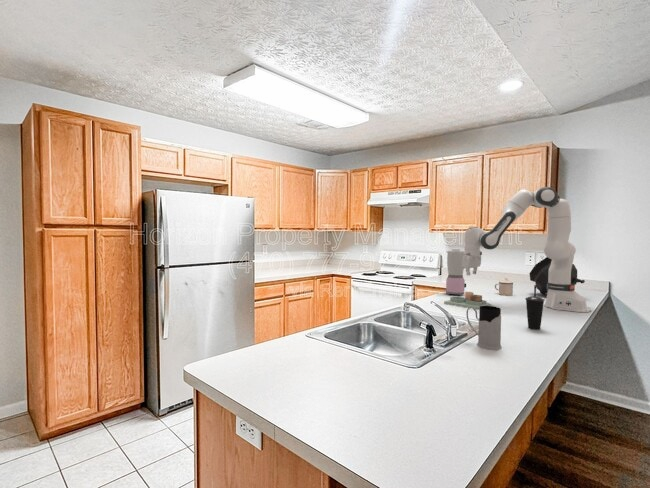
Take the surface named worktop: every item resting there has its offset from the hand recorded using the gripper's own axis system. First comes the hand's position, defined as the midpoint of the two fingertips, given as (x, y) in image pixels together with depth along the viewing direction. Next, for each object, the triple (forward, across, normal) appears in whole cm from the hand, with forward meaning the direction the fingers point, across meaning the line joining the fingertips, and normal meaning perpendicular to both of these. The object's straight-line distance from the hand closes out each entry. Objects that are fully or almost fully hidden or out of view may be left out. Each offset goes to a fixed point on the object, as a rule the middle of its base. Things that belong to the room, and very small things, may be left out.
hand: (471, 274), depth 224 cm
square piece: (+16, -12, -8) cm, 21 cm away
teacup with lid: (+17, +43, -6) cm, 47 cm away
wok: (+17, +61, -34) cm, 72 cm away
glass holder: (+17, -81, -38) cm, 91 cm away
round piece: (+17, +6, +3) cm, 18 cm away
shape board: (+17, -12, -2) cm, 21 cm away
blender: (+17, +18, +17) cm, 30 cm away
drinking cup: (+17, -40, -46) cm, 63 cm away
